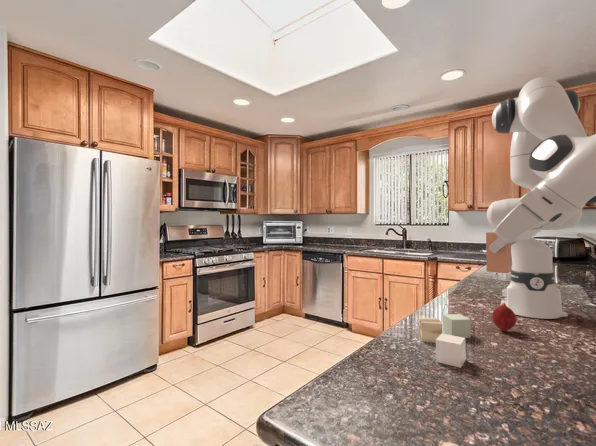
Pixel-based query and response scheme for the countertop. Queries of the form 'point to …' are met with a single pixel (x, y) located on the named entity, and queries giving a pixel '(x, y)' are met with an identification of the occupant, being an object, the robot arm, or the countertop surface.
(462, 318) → the sage block
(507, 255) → the terracotta post
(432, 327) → the maple block
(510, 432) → the countertop surface
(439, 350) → the ceramic block
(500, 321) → the onion
